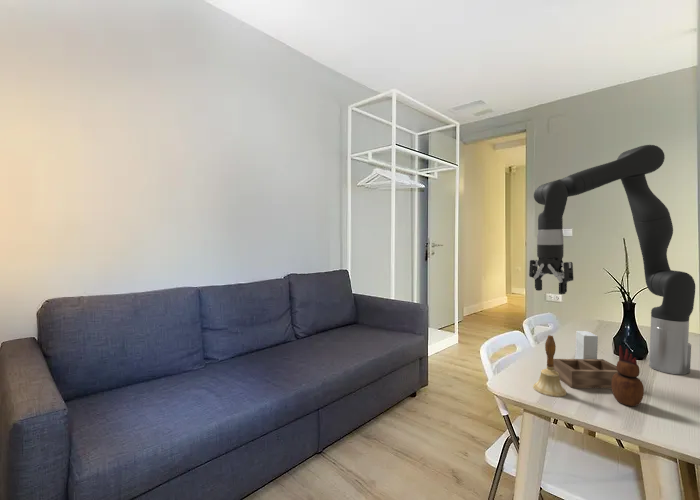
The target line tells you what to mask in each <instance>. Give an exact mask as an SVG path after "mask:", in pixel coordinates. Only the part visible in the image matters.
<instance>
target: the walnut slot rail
mask: <svg viewBox="0 0 700 500" xmlns="http://www.w3.org/2000/svg"><path fill="white" fill-rule="evenodd" d="M553 365H554V370H555V371H556V372H558V373H559V379H560V382H562V383H564V384H565V385H566V386H568V387H570V388H571V389H612V388H611V382H612V377H613V375H614V374H615V373H619V372H618V371H617V368H616V367H617V365H615V364H613V363H611V362H609V361H607V360H605V359H603V358H602V359H601V358H600V359H599V358H597V359H575V358H553Z"/></svg>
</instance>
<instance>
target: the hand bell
mask: <svg viewBox="0 0 700 500" xmlns="http://www.w3.org/2000/svg"><path fill="white" fill-rule="evenodd" d="M544 347H545V348H544V350H545V354H546V368H544V369H541V371H540V376H539V379H538V381H537V382H535V383H534V384H533V386H532V387H533V389H534V391H535V392H538V393H540V394H542V395H544V396H548V397H555V398H562V397H565V396H566V395H567V394H568V393H567V390H566V389H565V388H564V387H563V385H562V384H561V380H560V379H559V373H558V372H556V371H555V370H554V365H553V359H554V357H555V354H556V350H557V349H556V348H557V346H556V342H555V339H554V336H553V335H547V338H546V341H545V343H544Z"/></svg>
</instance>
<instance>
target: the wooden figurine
mask: <svg viewBox="0 0 700 500" xmlns="http://www.w3.org/2000/svg"><path fill="white" fill-rule="evenodd" d="M618 351H619V352H618V361H617V363H616V366H617V367H616V368H617V371H618V372H619V373H615V374H614V375H613V377H612V382H611V388H610V389H611V391H612V395H613V397H614V399H615V400H616V401H617V402H618V403H620V404H622V405H624V406H628V407H637V406H639V405H641V402H642V401H643V398H644V395H645V387H644V384H643V382H642V381H641V379H640V378H639V376H640V370H641V369H640V367H639V364H638V362H637V357H633V353H629V349H628V348H626V349H625V352H624V351H623V347H622V345H619V350H618Z"/></svg>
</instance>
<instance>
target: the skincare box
mask: <svg viewBox="0 0 700 500" xmlns="http://www.w3.org/2000/svg"><path fill="white" fill-rule="evenodd" d="M598 340H599V336H598V335H597V334H594V333H592V332H591V331H584V330H576V331H575V356H574V357H575V358H574V359H598V348H599V347H598V343H599V341H598Z"/></svg>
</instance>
